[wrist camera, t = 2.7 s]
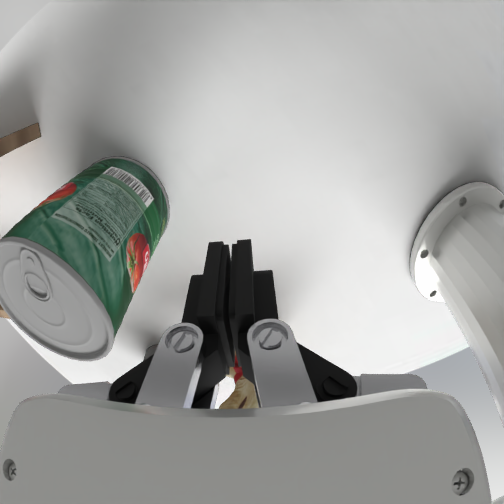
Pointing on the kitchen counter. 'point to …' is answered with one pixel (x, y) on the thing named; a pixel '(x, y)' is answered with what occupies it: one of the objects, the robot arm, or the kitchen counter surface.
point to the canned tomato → (83, 257)
